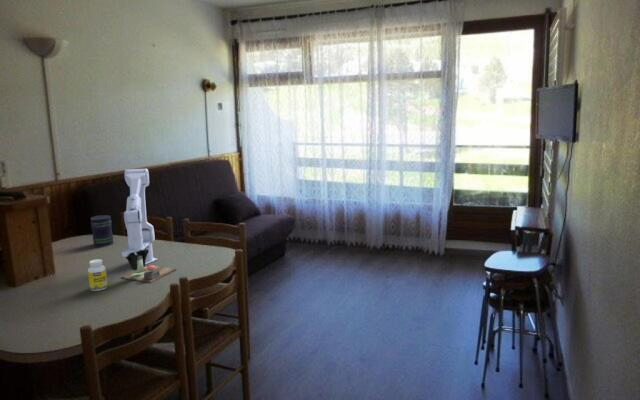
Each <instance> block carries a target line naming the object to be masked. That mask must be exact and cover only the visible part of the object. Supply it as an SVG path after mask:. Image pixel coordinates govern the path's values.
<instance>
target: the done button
mask: <svg viewBox="0 0 640 400" xmlns="http://www.w3.org/2000/svg"><path fill="white" fill-rule="evenodd" d="M149 265H150V264H149ZM146 266H147V265H146ZM155 266H156V265H154V264H152V265H150V266H147V269H148V270H149V271H152V270H154V269H155Z"/></svg>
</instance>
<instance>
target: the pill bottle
mask: <svg viewBox="0 0 640 400" xmlns="http://www.w3.org/2000/svg"><path fill="white" fill-rule="evenodd" d="M89 266H90V267H88V268H87V275H88V284H89V285H88V286H89V289H90V291H92V292H99V291H103V290H105V289H107V287H108V280H107V279H108V278H107V269H106V266H105V265H103V259H98V258H97V259H91V260H89Z"/></svg>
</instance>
